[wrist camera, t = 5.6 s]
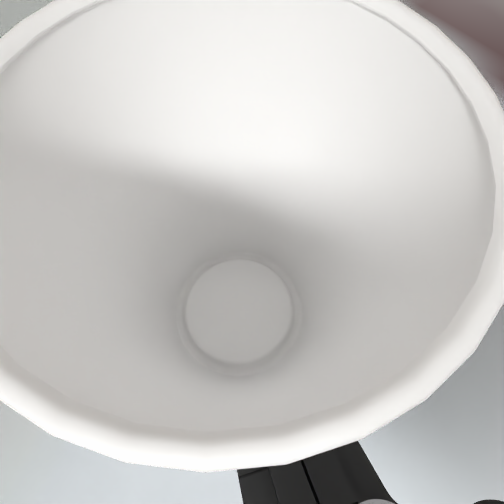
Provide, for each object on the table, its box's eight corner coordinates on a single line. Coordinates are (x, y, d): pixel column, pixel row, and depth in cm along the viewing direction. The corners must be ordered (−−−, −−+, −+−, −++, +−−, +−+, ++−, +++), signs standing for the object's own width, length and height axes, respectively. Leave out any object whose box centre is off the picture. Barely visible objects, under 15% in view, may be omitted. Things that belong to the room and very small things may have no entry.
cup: (242, 173, 19) (233, -100, 9) (405, 313, 17) (645, 137, 7) (72, 309, 17) (-201, 128, 7) (234, 507, 14) (190, 726, 4)
